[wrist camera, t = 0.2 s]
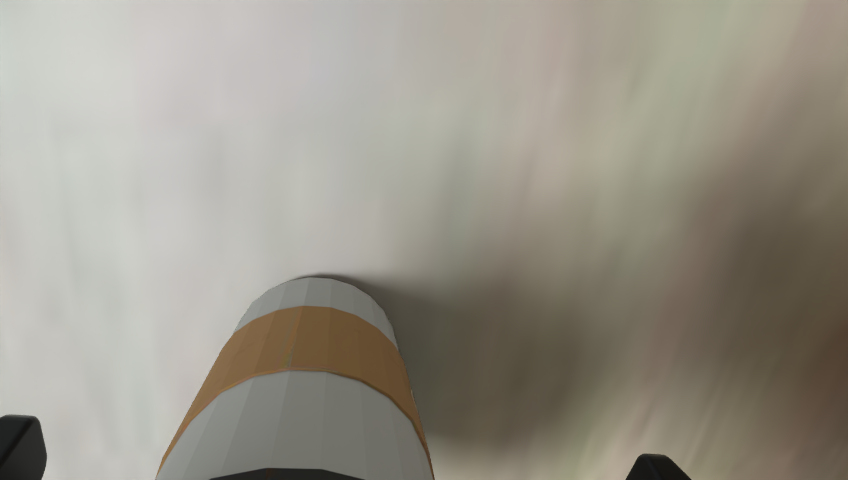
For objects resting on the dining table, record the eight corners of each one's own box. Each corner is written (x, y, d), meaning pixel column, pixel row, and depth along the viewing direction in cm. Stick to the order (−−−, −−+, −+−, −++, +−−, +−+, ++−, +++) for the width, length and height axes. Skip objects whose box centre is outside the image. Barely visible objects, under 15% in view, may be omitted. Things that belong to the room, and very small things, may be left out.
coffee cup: (392, 441, 28) (432, 872, 14) (198, 413, 26) (23, 865, 12) (439, 269, 25) (546, 583, 11) (228, 228, 24) (50, 531, 10)
